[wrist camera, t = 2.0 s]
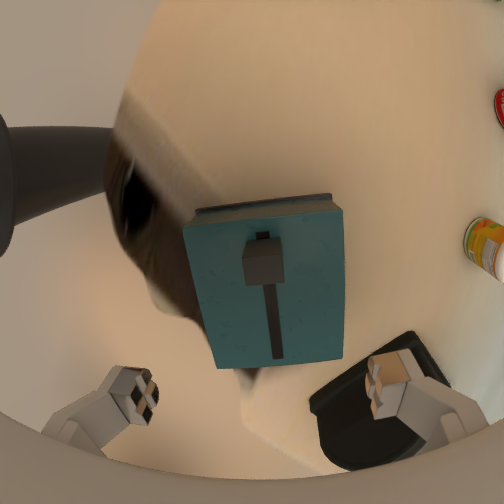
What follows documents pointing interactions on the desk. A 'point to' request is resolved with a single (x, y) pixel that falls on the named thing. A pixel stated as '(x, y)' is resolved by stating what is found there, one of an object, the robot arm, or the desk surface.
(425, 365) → the roll top bread box
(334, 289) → the block
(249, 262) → the slider
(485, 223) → the supplement bottle
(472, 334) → the desk surface
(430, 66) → the desk surface
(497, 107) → the beverage can
